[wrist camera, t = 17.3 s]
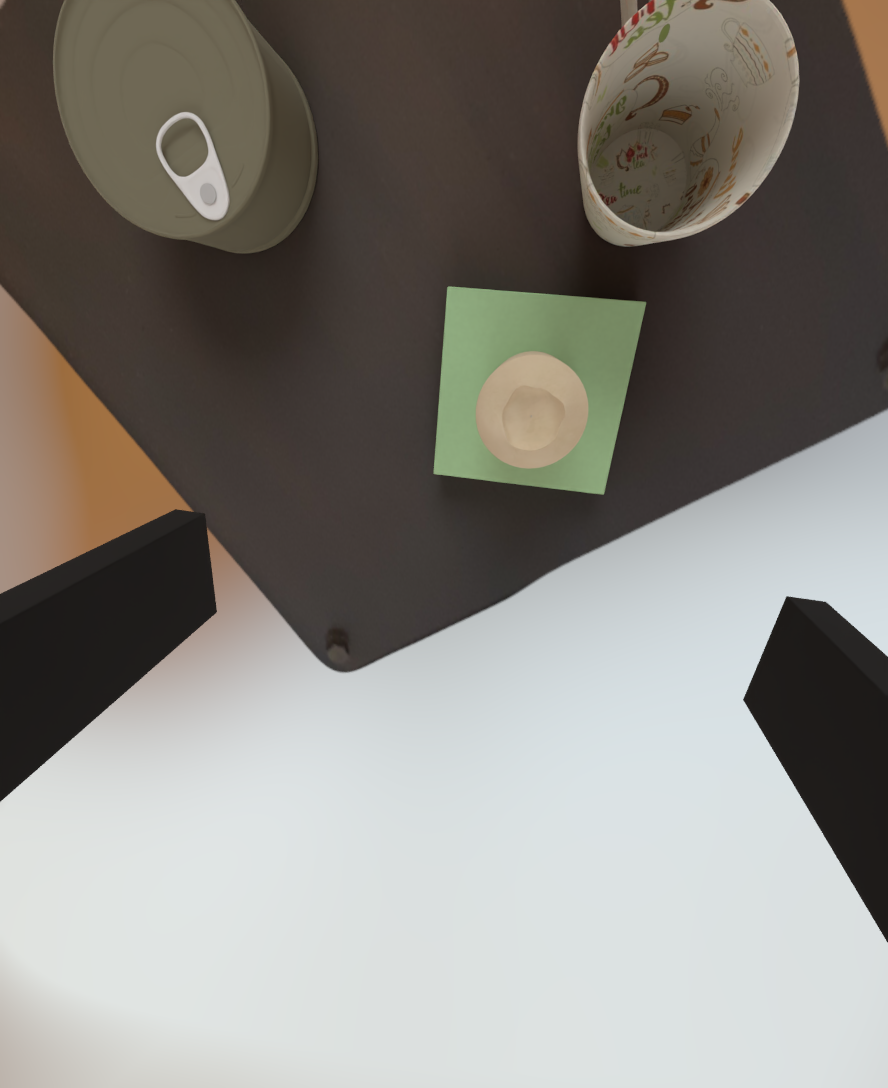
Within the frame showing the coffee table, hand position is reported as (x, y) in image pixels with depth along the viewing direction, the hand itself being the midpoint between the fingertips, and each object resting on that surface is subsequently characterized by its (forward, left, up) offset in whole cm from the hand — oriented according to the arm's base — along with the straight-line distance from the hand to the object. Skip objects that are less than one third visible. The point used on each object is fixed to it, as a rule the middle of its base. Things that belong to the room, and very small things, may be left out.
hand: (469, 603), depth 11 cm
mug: (-5, -16, -26) cm, 31 cm away
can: (+20, -15, -26) cm, 36 cm away
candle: (-1, -2, -24) cm, 24 cm away
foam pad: (-1, -2, -26) cm, 26 cm away
